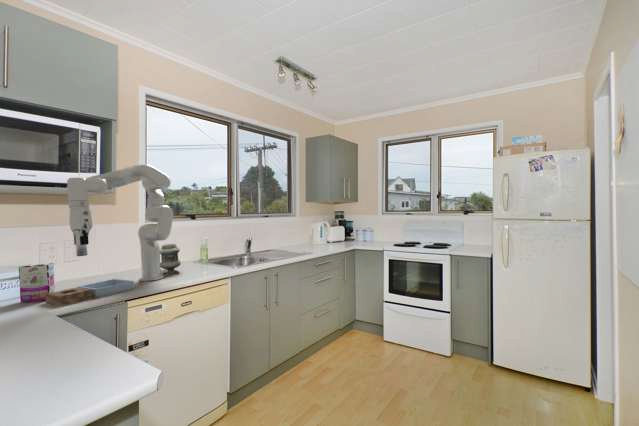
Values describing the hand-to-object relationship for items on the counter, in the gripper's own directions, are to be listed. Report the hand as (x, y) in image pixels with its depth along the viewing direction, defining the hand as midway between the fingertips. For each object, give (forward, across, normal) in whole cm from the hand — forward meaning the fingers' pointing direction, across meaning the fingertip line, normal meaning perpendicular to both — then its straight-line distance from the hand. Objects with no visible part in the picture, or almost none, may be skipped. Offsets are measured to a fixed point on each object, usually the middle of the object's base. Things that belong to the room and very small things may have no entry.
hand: (81, 244), depth 148 cm
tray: (+25, 0, -10) cm, 27 cm away
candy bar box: (+25, +15, +12) cm, 31 cm away
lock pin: (+5, 0, 0) cm, 5 cm away
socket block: (+24, 0, +6) cm, 25 cm away
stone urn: (+26, +9, -54) cm, 60 cm away
